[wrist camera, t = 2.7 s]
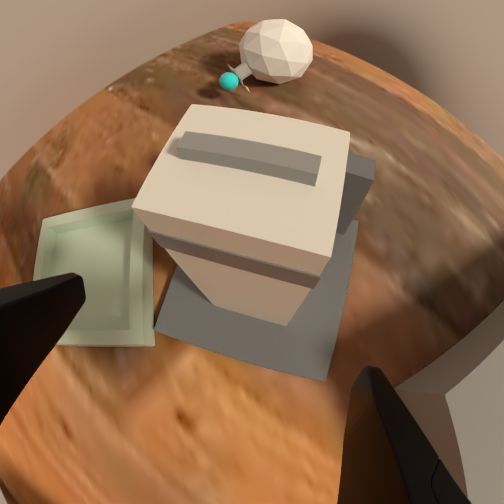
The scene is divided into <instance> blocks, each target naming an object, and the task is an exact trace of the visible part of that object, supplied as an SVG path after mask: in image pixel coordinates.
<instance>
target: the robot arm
mask: <svg viewBox="0 0 504 504" xmlns="http://www.w3.org/2000/svg"><path fill="white" fill-rule="evenodd" d="M85 300H86V293H85V287H84V281H83V278H82V276H80V275H78V274H76V273H73V272H71V273H66V274H62V275H57V276H53V277H48V278H44V279H40V280H35V281H31V282H27V283H22V284H18V285H14V286H9V287H5V288H1V289H0V425H1V423H2V421H3V420H4V418H5V416H6V415H7V413H8V411H9V410H10V408H11V407H12V405H13V404H14V402H15V401H16V399H17V398H18V396H19V395H20V393H21V392H22V390H23V389H24V387H25V386H26V384H27V383H28V381H29V380H30V379H31V377H32V376H33V374H34V373H35V372H36V370H37V369H38V367H39V366H40V365H41V363H42V362H43V361H44V359H45V358H46V357H47V355H48V354H49V353H50V351H51V350H52V349H53V348H54V346H55V345H56V344H57V342H58V341H59V340H60V338H61V337H62V336H63V334H64V333H65V331H66V330H67V328H68V327H69V325H70V324H71V322H72V321H73V319H74V318H75V316H76V315H77V313H78V312H79V310H80V309H81V307H82V306H83V304H84V303H85ZM337 504H472V503H471V502H470V500H469V499H468V498H467V497H466V495H465V494H464V493H463V491H462V490H461V489H460V487H459V486H458V484H457V483H456V482H455V480H454V479H453V477H452V476H451V474H450V473H449V471H448V470H447V468H446V467H445V465H444V463H443V462H442V460H441V459H439V456H438V454H437V452H436V451H435V449H434V448H433V446H432V445H431V443H430V442H429V440H428V439H427V437H426V435H425V434H424V432H423V431H422V429H421V428H420V426H419V425H418V423H417V422H416V420H415V419H414V417H413V416H412V414H411V413H410V411H409V410H408V408H407V407H406V405H405V404H404V402H403V401H402V400H401V398H400V397H399V395H398V394H397V392H396V391H395V389H394V388H393V386H392V385H391V384H390V382H389V381H388V379H387V378H386V376H385V375H384V374H383V372H382V371H381V369H380V368H378V367H373V366H365V367H364V368H363V370H362V371H361V373H360V374H359V376H358V378H357V379H356V381H355V382H354V384H353V386H352V389H351V396H350V402H349V409H348V415H347V421H346V427H345V433H344V441H343V454H342V466H341V476H340V485H339V494H338V501H337Z"/></svg>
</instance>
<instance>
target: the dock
mask: <svg viewBox="0 0 504 504" xmlns="http://www.w3.org/2000/svg"><path fill="white" fill-rule="evenodd" d="M374 174H375V160H373V159H370V158H366V157H363V156H360V155H356V154H353V153H349V152H348V157H347V164H346V172H345V179H344V186H343V193H342V199H341V205H340V211H339V217H338V223H337V229H336V234H335V239H334V245H333V250H332V255H331V258H330V260H329V261H328V263H327V265H326V266H325V268H324V269H323V271H322V275H321V279H320V280H319V282H318V283H317V285H316V286H315V287H314V289H311V290H310V291H309V293H308V294H307V296H306V297H305V299H304V300H303V302H302V303H301V305H300V306H299V308H298V309H297V311H296V312H295V314H294V315H293V317H292V318H291V320H290V321H289V323H288V324H287V326H284V325H280V324H276V323H272V322H269V321H265V320H262V319H258V318H255V317H251V316H248V315H244V314H241V313H237V312H234V311H231V310H227V309H224V308H221V307H217V306H214V305H213V304H212V303H211V302H210V301H209V300H208V298H207V297H206V296H205V295H204V294H203V293H202V292H201V291H200V289H199V288H198V287H197V286H196V285H195V284H194V283H193V281H192V280H191V279H190V278H189V277H188V276H187V275H186V273H185V272H184V271H183V270H182V269H181V268H180V266H179V265H178V264H177V267H176V269H175V272H174V275H173V277H172V280H171V283H170V285H169V288H168V291H167V294H166V296H165V299H164V302H163V305H162V308H161V310H160V313H159V316H158V319H157V322H156V325H155V328H154V331H157V332H160V333H162V334H165V335H167V336H170V337H173V338H175V339H178V340H181V341H183V342H186V343H189V344H192V345H195V346H197V347H200V348H203V349H206V350H209V351H212V352H215V353H218V354H221V355H224V356H228V357H231V358H234V359H237V360H241V361H244V362H247V363H251V364H254V365H258V366H261V367H265V368H269V369H273V370H276V371H280V372H284V373H288V374H292V375H296V376H300V377H305V378H309V379H314V380H318V381H323V382H325V380H326V377H327V373H328V370H329V366H330V362H331V358H332V355H333V351H334V347H335V343H336V339H337V335H338V330H339V326H340V322H341V317H342V313H343V308H344V304H345V299H346V294H347V289H348V284H349V278H350V273H351V267H352V261H353V255H354V249H355V243H356V236H357V229H358V222H359V221H356V220H353V218H354V216H355V214H356V213H357V211H358V209H359V207H360V205H361V204H362V202H363V200H364V198H365V196H366V195H367V193H368V191H369V189H370V187H371V185H372V183H373V182H374Z"/></svg>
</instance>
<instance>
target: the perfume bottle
mask: <svg viewBox="0 0 504 504" xmlns="http://www.w3.org/2000/svg"><path fill="white" fill-rule="evenodd" d="M239 47H240V56H241V64H240V65H239V66H237V67H236V68H235V69H233V68H232V67H230V66H229V64H227V65H228V67H229V68H230V70H231V72H232V73H231V72H226V73H224V74H222V75H221V77H220V79H219V84H220V86H221V87H222V88H223V89H224V90H227V91H231V90H234V89H235V88H236V87H237V86H238V82H240V84H241V85H242V86H243V87H244V88H246V89H247V90H248V91H249V89H248V88H247V87H246V86H244V85H243V79H245V78H246V77H248V76H249V75H251V74H252V75H253V76H254V77H255V78H256V79H259V80H263V81H267V82H272V83H276V84H282V83H285V82H288V81H291V80H293V79H296V78H300V77H301V76H302V75H303V73H304V72H305V70H306V69H307V68H308V66H309V65H310V63H311V62H312V44H311V42H310V40H309V38H308V37H307V35H306V34H305V32H304V31H303V29H301V28H300V27H298V26H296V25H294V24H293V23H291V22H289V21H287V20H285V19H277V20H263V21H262V22H259V23H257V24H256V25H254V26H252V27H250V28H249V29H248V30H247V31H246V33H245V35H244V36H243V38H242V40H241V41H240V43H239ZM249 92H250V91H249Z"/></svg>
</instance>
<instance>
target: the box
mask: <svg viewBox="0 0 504 504" xmlns="http://www.w3.org/2000/svg"><path fill="white" fill-rule="evenodd" d="M394 389H395V391H396V392H397V394H398V395H399V397H400V398H401V400H402V401H403V402H404V404H405V405H406V407H407V408H408V410H409V411H410V413H411V414H412V416H413V417H414V419H415V420H416V422H417V423H418V425H419V426H420V428H421V429H422V431H423V432H424V434H425V435H426V437H427V439H428V440H429V442H430V443H431V445H432V446H433V448H434V449H435V451H436V452H437V454H438V456H439V459H441V460H442V462H443V463H444V465H445V467H446V468H447V470H448V471H449V473H450V474H451V476H452V477H453V479H454V480H455V482H456V483H457V484H458V486H459V487H460V489H461V490H462V491H463V493H464V494H465V495H466V497H467V498H468V499H469V500H470V502H471V503H472V504H504V301H503V302H502V303H501V304H500V305H499V306H498V307H497V308H496V309H495V310H494V311H493V312H492V313H491V314H490V315H489V316H487V317H486V318H485V319H484V320H483V321H482V322H481V323H480V324H479V325H478V326H477V327H475V328H474V329H473V330H472V331H471V332H470V333H469V334H467V335H466V336H465V337H464V338H463V339H461V340H460V341H459V342H458V343H457V344H455V345H454V346H453V347H452V348H450V349H449V350H448V351H447V352H445V353H444V354H443V355H441V356H440V357H439V358H437V359H436V360H435V361H433V362H432V363H431V364H429V365H428V366H426V367H425V368H424V369H422V370H421V371H419V372H418V373H416V374H415V375H413V376H412V377H410V378H409V379H407V380H406V381H404V382H403V383H401V384H400V385H398V386H396V387H395V388H394Z"/></svg>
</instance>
